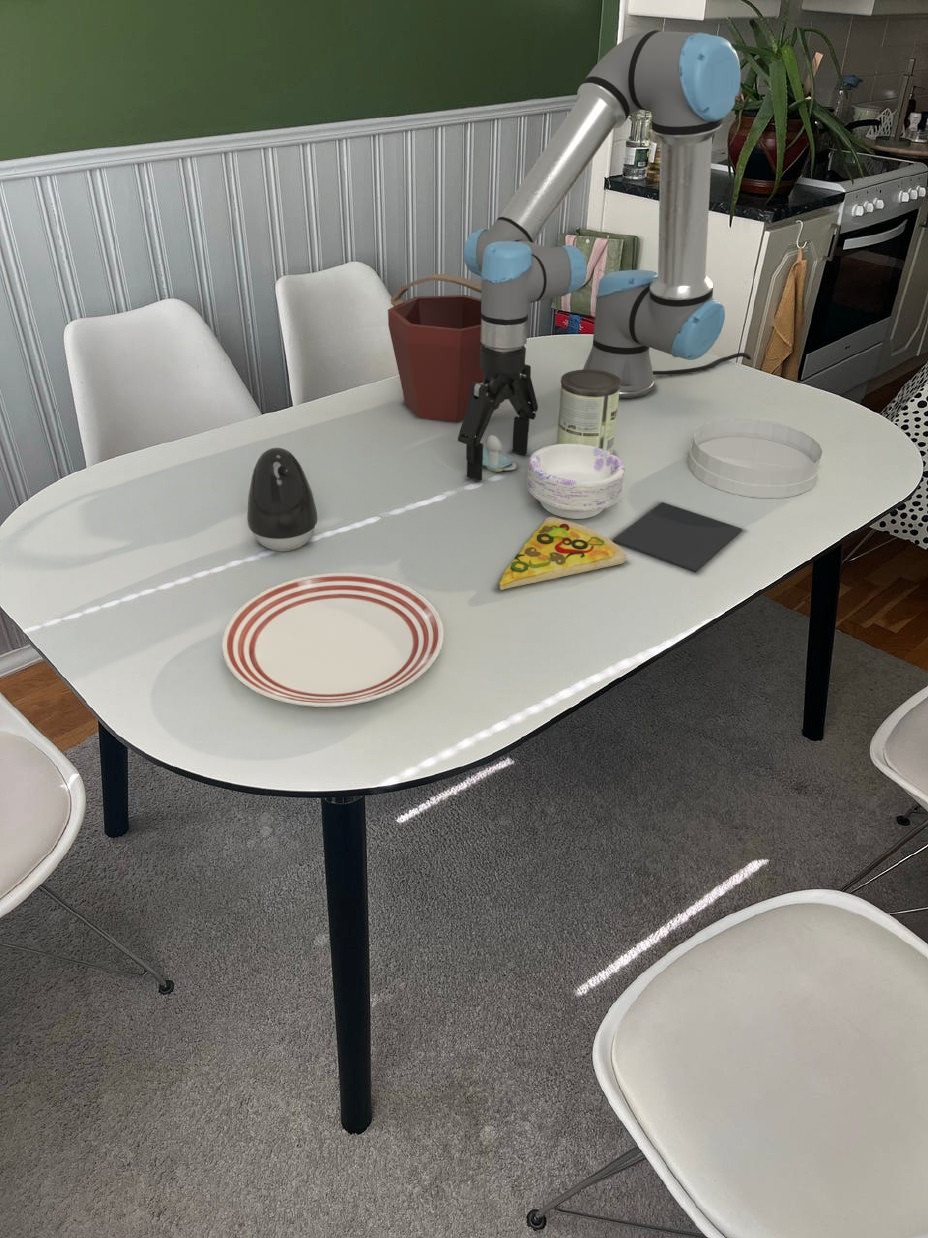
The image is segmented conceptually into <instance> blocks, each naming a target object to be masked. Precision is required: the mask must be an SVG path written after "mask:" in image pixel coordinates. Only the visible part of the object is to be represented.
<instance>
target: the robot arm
mask: <svg viewBox="0 0 928 1238" xmlns="http://www.w3.org/2000/svg"><path fill="white" fill-rule="evenodd" d="M741 75H742V71H741V63H740V59H739V56H738V53H737V51H736V49H735V48H734V46H732V45H731V42H730V41H729V40H727V39H726V38H724V37H722V36H719V35H712V34H709V33H705V32H703V31H702V32H690V31H663V30H657V29H648V30H642V31H639V32H636V33H633V34H632V35H630V36H628V37H626V38H625V39H623V40H621V42H619V43H618V44H616V45H614V47H613V48H612V49H610V50H609V51H608V52H607V53H606V54H605V55H604V56H603V57H602V58H601V59H600V60H599V61H598V62H597V63H596V64H595V66H594V67H592V69H591V70H590V72H589V73H588V75H586V77H585V78H584V80H583V81H582V83H581V84H580V86H579V87H578V89H577V93H576V95H577V101H576V102H575V104H574V105H573V106H572V108H571V109H570V110H569V112H568V114H567V116H566V117H565V118H564V120H563V122H562V123H561V124H560V126H559V127H558V129H557V130H556V132H555V133H554V134H553V136H552V137H551V139H550V141H548V143H547V145H546V146H545V148H544V149H543V151H542V152H541V153H540V155H539V156H538V158H537V159H536V161H535V162H534V164H533V165H532V167H531V169H530V170H529V172H528V173H527V174H526V176H525V177H524V179H523V180H522V182H521V183H520V185H519V186H518V187H517V189H516V190H515V192H514V193H513V194H512V196H511V198H510V199H509V200H508V202H507V203H506V205H505V207H504V208H503V210H502V211H501V212H500V214H499V215H498V217H497V219H496V220H495V221H494V223H493V224H492V226H491V227H490V228H479V229H477V230H475V231H474V232H472V233H471V234H470V235H468V237H467V239H466V241H465V244H464V246H463V261H464V263H465V266H466V267H467V270H469V271H470V272H471V273H473V274H475V275H477V276H479V277H481V284H482V290H481V293H480V294H481V295H480V296H481V298H480V299H481V335H480V341H481V343H482V345H481V346H480V357H479V366H480V368H481V369H482V370H483V372H484V379H483V383H475V382H473V383H472V384H471V390H470V398H469V402H468V405H467V408H466V412H465V415H464V419H463V420H462V421H461V426H460V429H459V433H458V436H457V442H458V443H460V444H461V443H462V444H464V445H465V446H466V450H465V452H466V453H465V455H466V456H465V459H466V477H467V478H469V479H472V480H475V481H478V482H480V481H482V480H483V465H482V464H483V460H484V459H483V449H484V443H482V442H481V441H482V439H483V437H484V435H485V433H486V430H487V428H488V426H489V423H490V421H491V420H492V417H493V414H494V412H495V410H497V409H499V407H500V405H501V404H502V403H503V402H505V401H506V400H508V401H509V403H510V404H511V406H512V408H513V410H514V412H515V413H516V414H517V415H516V416H514V417H513V426H512V427H513V429H512V446H511V452H512V453H515V454H518V455H521V456H526V455H528V442H529V432H530V420H535V419H536V415H537V412H538V410H539V405H538V400H537V397H536V392H535V389H534V385H533V380H532V377H531V375H532V367H531V365H530V364H526V355H527V348H526V344H527V342H528V323H529V321H528V320H529V309H530V304H532V303H536V302H540V301H544V300H550V299H553V298H558V297H565V296H567V295H569V294H572V293H575V292H578V291H579V290H581V288H582V287H583V285H584V284H585V282H586V279H587V275H588V274H587V273H588V272H587V270H588V264H587V261H586V257H585V255H584V254H583V252H582V250H581V249H580V248H578V247H577V246H575V245H570V244H567V245H562V244H560V245H556V246H555V247H553V246H552V247H551V246H546V245H543V244H540V243H536V241H537V240H538V238H539V237H540V235H541V234H542V232H543V231H544V230H545V228H547V227H546V226H548V224H549V222H550V221H551V219H552V218H553V217H554V216H555V214H556V212H557V211H558V209H559V208H560V206H561V205H562V203H563V202H564V200H565V199H566V197H567V196H569V193H570V192H571V191H572V189H573V187H574V186H575V185H576V183H577V182H578V180H579V179H580V177H581V176H582V174H583V173H584V172H585V170H586V169H587V167H588V166H589V165H590V163H591V162H592V160H593V159H594V157H595V155H596V154H597V153H598V151H599V150H600V148H601V147H602V146H603V144H604V142H605V141H606V140H607V138H608V137H609V135H610V134H611V132H612V131H613V129H619V128H622V127H623V125H624V124H625V122H626V121H627V119H628V118H629V117H630V116H631V115H632V114H634V113H636V112H639V111H646V112H651V127H650V128H651V132H652V133H653V134H654V135H655V136H656V138H658V139H659V141H660V143H659V144H660V145H659V146H660V147H659V197H658V198H659V200H658V202H659V203H658V259H657V264H658V265H657V271H654V270H647V269H627V270H617V271H613V272H609V273H606V274H604V275H603V276H602V277H601V278H600V280H599V283H598V286H597V287H598V288H597V293H596V296H595V298H596V301H595V312H594V325H593V335H592V336H593V337H592V347H591V349H590V352H589V354H588V356H587V358H586V361H585V364H584V366H583V368H582V370H585V369H589V370H600V371H605V372H608V373H611V374H614V375H616V376H617V377H619V378H620V380H621V387H620V391H619V399H635V398H640V397H643V396H646V395H649V394H651V392H652V391H653V390H654V383H655V378H654V377H655V376H667V375H669V376H670V375H680V374H688V373H696V372H701V371H705V370H708V369H711V368H713V367H715V366H717V365H718V364H720V363H722V362H726V361H730V360H733V359H737V358H740V357H742V358H745V359H746V360H749V361H750V360H752V357H751V355H750V354H748V353H746V352H737V353H733V354H730V355H726V356H723V357H720V358H717V359H716V360H714V361H712V362H710V363H708V364H704V365H699V366H695V367H690V368H682V369H670V370H669V369H668V370H653V366H652V361H651V356H650V349H653V350H656V351H659V352H662V353H665V354H667V355H671V356H672V357H673V358H680V359H685V360H688V361H693V360H697V359H699V358H701V357H703V356H704V355H706V354H707V353H708V352H709V351H710V350H711V348H712V347H713V346H714V345H715V343H716V341H718V338H719V337H720V335H721V333H722V329H723V327H724V323H725V318H726V309H725V306H724V305H723V303H722V302H721V301H720V300H719V299H716V298H714V282H713V280H712V279H711V278H710V276H708V275H707V274H706V272H707V269H706V268H707V251H708V249H707V248H708V233H709V231H708V230H709V229H708V228H709V210H710V193H711V192H710V191H711V190H710V189H711V173H712V152H713V151H712V150H713V136H714V135H716V133H718V131H719V130H720V129H721V127H723V120H724V119H725V117H727V116H728V115H729V114H730V113H731V111H732V109H733V108H734V106H735V104H736V100H735V98H737V97H738V96H739V92H740V89H741V88H740V87H741V82H742V81H741V80H742V79H741V77H742V76H741ZM487 397H488V398H489V400H490V401H489V400H486V398H487Z"/></svg>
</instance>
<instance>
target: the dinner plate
mask: <svg viewBox="0 0 928 1238" xmlns="http://www.w3.org/2000/svg"><path fill="white" fill-rule="evenodd" d="M444 634H445V633H444V626H443V622H442V619H441V617H440V614H439V613H438V611H437V609H436V608H435V607H434V606H433V604H432V603H431V602H430V601H429V600H428V599H427V598H425V597H424V596H423V595H422V594H420V593H419V592H418V591H416V590H414V588H411V587H409V586H407V585H405V584H402V583H401V582H398V581H395V580H393V579H390V578H386V577H382V576H377V575H374V574H373V575H372V574H366V573H355V572H333V573H330V572H329V573H321V574H313V575H308V576H303V577H297V578H294V579H291V580H288V581H284V582H282V583H279V584H276V585H274V586H271V587H270V588H267V589H266V590H264V591H261V592H259V594H256V595H255V596H253V597H252V598H250V599H248V601H246V602H245V603H244V604H243V605H242V606H240V607H239V608H238V609H237V611H236V612H235V613H234V614H233V615H232V616H231V618H230V619H229V621H228V623H227V625H226V627H225V629H224V632H223V635H222V643H221V644H222V655H223V659H224V661H225V664H226V666H227V668H228V669H229V671H230V673H232V674H233V676H234V677H235V678H236V679H237V680H238V681H239V682H241V684H243V685H244V686H246V687H247V688H248V689H250V690H252V691H253V692H255V693H257V694H260V695H261V696H264V697H265V698H266V697H267V698H269V699H272V700H275V701H278V702H282V703H287V704H291V705H296V706H304V707H317V708H325V707H326V708H332V707H344V706H345V707H346V706H351V705H358V704H363V703H368V702H372V701H375V700H379V699H382V698H384V697H387V696H389V695H392V694H394V693H396V692H398V691H400V690H402V689H404V688H406V687H407V686H409V685H410V684H412V683H413V682H415V681H417V680H418V679H419V678H420V677H421V676H422V675H424V673H426V671H427V670H428V669H430V668H431V666H432V665H433V664H434V662H435V661H436V659H437V658H438V656H439V654H440V652H441V649H442V646H443V642H444V636H445V635H444Z"/></svg>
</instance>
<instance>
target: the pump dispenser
mask: <svg viewBox="0 0 928 1238" xmlns="http://www.w3.org/2000/svg"><path fill="white" fill-rule="evenodd" d="M251 475H252V476H251V479H250V482H249V483H250V484H249V489H248V494H247V511H246V512H247V513H246V519H247V526H248V528H249V530H250V531H251V532H252V535H253V537H254V538H255V540H256V541H257V542H258V544H260V545H261V546H262V547H264V548H266V549H268V550H271V551H275V552H290V551H294V550H298V549H299V548H301V547H303V546H304V545H306V544H307V543H308V542H309V541H310V540H311V538H312V536H313V535H314V532H315V529H316V526H317V524H318V511H317V506H316V502H315V499H314V495H313V492H312V488H311V486H310V483H309V481H308V478H307V476H306V473H305V471H304V469H303V467H302V466H301V464H300V462H299V461H298V459H297V458H296V457H295V456H294V454H292V452H291V451H289V450H287V449H285V448H282V447H271V448H268V449H266V450H265V451H263V452H262V453H261V455H260V456H259V457H258V459H257V461H256V463H255V465H254V468H253V471H252V474H251Z"/></svg>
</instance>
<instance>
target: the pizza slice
mask: <svg viewBox="0 0 928 1238" xmlns="http://www.w3.org/2000/svg"><path fill="white" fill-rule="evenodd" d="M626 559H627V554H626V552H625V551H624V550H623V549H622V548H621V546H619V544H617V543H615V542H613V540H611V539H609V538H608V537H606V536H605V535H603V534H601V533H599V532H597V531H595V530H594V529H592V528H589V527H588V526H585V525H582V524H579V523H577V522H573V521H570V520H566V519H563V518H559V517H553V516H549V517H546V518H545V519H544V521H543V522H542V524H541V525H540V526H539V528H538V529H537V530H535V532H534V533H533V535H532V536H531V537H530V539H529V540H527V541H526V543H525V544H524V545H523V547H522V548H521V549H520V551H519V553H518V554H516V555H515V557H514V559H513V560H512V561H511V562H510V564H509V565H508V566H507V567H506V569H505V570H504V572H503V575H502V577H501V579H500V581H499V589H500V591H502V590H507V589H512V588H517V587H521V586H525V585H529V584H530V585H531V584H535V583H539V582H540V583H541V582H545V581H550V580H555V579H559V578H563V577H568V576H572V575H577V574H580V573H586V572H590V571H594V570H599V569H605V568H609V567H612V566H617V565H622V564H624V563H625V562H626Z"/></svg>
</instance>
